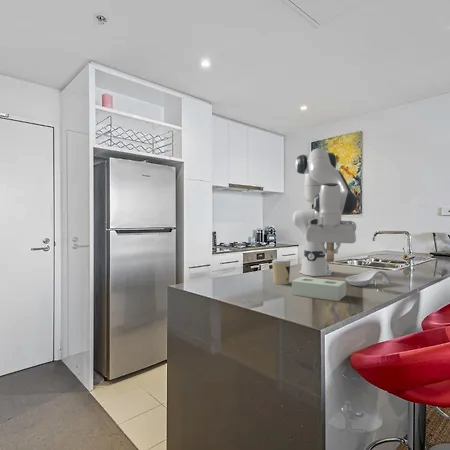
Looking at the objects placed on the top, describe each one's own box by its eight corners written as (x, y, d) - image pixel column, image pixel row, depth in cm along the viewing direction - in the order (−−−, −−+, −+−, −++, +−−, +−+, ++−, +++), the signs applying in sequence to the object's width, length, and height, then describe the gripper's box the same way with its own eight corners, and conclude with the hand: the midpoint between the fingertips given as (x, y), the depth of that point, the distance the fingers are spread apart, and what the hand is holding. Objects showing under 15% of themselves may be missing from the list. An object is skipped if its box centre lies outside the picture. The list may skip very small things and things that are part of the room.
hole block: (301, 289, 148) (301, 276, 148) (345, 295, 136) (345, 281, 136) (291, 294, 138) (291, 281, 138) (338, 301, 126) (338, 286, 126)
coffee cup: (290, 285, 157) (290, 261, 156) (271, 284, 159) (271, 261, 158) (290, 281, 166) (290, 259, 166) (272, 281, 168) (272, 258, 167)
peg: (327, 261, 136) (327, 238, 136) (334, 261, 134) (334, 238, 134) (325, 261, 133) (325, 238, 133) (332, 262, 132) (332, 238, 131)
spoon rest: (357, 289, 149) (357, 274, 149) (340, 284, 160) (340, 270, 160) (396, 285, 156) (396, 271, 156) (378, 281, 167) (378, 267, 167)
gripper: (357, 220, 130) (357, 253, 130) (309, 220, 142) (309, 251, 142) (354, 220, 125) (354, 255, 125) (304, 220, 137) (304, 252, 137)
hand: (330, 253), depth 134 cm, fingers closed on peg, 3 cm apart
